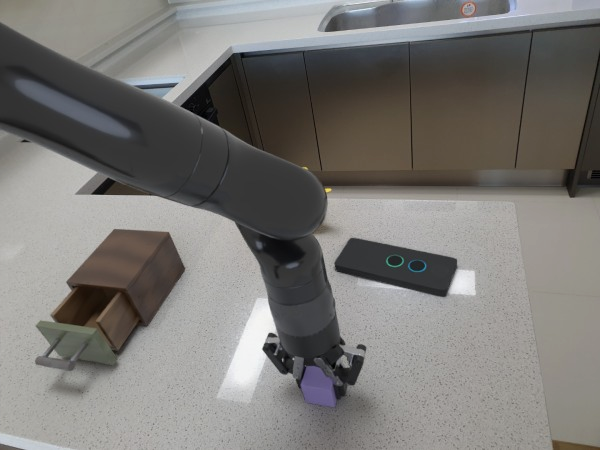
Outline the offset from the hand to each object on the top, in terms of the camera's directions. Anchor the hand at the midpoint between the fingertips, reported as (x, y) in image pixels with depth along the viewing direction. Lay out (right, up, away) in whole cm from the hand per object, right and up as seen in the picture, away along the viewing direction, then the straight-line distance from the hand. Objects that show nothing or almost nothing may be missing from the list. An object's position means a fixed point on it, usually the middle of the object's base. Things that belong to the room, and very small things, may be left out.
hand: (323, 390), depth 65 cm
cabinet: (-34, +10, +24) cm, 43 cm away
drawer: (-37, +4, +14) cm, 40 cm away
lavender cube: (0, 0, 0) cm, 0 cm away
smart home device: (+13, +15, +17) cm, 27 cm away
